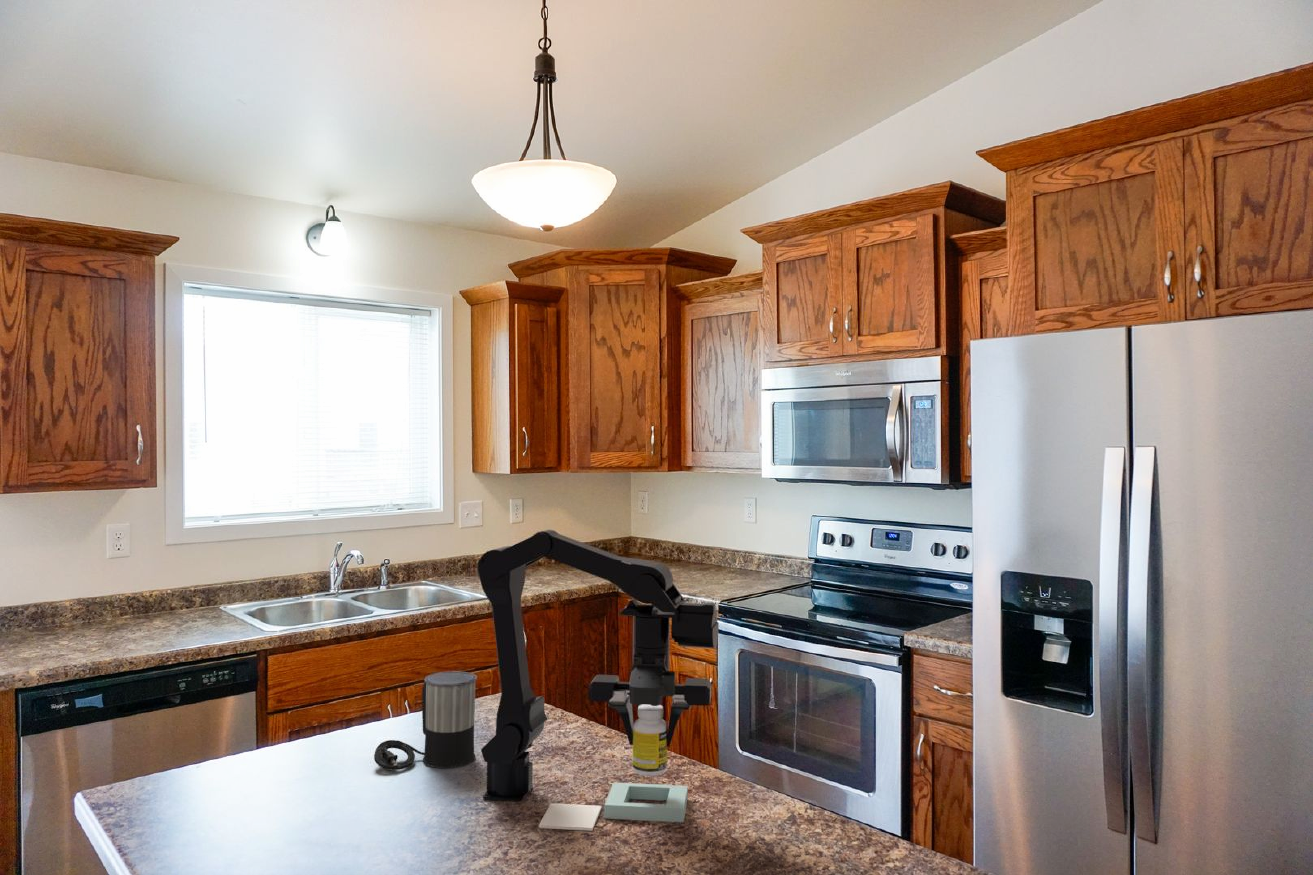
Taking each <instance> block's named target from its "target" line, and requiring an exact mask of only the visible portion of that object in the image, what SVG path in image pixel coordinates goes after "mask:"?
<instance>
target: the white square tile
mask: <svg viewBox="0 0 1313 875" xmlns="http://www.w3.org/2000/svg"><path fill="white" fill-rule="evenodd" d="M602 809H603V808H602V805H595V804H594V805H592V804H591V805H590V804H573V803H550V804H549V806H548V808H547V810H546V811H545V813H544V815H543V817H542V819H541V821H540V823H538V829H552V830H568V831H569V830H572V831H588V832H589V831H590V832H593V830H594V828H595V826H596V824H597V821H598V818H599V816H600V814H601V811H602Z"/></svg>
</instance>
